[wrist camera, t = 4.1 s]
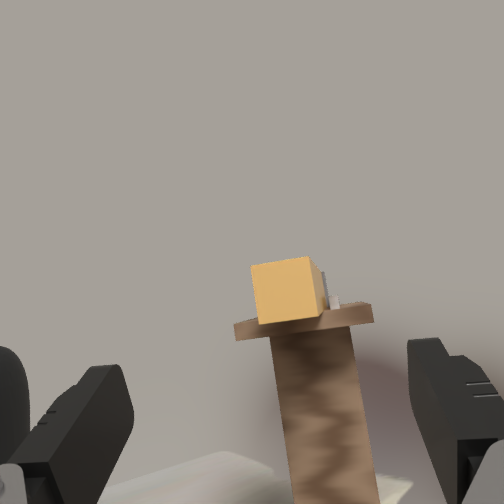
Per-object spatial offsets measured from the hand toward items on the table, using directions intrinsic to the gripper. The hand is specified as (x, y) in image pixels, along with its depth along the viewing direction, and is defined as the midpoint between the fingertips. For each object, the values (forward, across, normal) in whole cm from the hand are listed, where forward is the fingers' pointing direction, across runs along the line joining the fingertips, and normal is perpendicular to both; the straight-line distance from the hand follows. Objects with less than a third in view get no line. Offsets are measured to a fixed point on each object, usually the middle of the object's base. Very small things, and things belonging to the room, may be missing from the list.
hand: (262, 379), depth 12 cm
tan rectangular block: (+25, 0, -11) cm, 27 cm away
